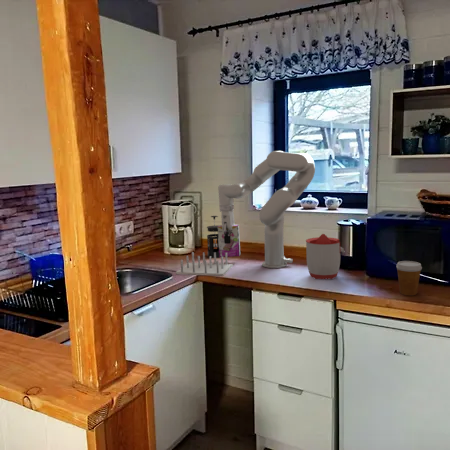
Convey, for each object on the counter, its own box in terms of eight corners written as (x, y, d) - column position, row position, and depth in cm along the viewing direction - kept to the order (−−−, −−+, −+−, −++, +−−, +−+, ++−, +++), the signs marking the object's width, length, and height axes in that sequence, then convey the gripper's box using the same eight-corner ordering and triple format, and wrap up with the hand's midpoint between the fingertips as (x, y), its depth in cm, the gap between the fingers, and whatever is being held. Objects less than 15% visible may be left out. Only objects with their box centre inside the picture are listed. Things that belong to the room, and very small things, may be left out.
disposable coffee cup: (394, 288, 188) (395, 260, 186) (419, 290, 185) (420, 261, 183) (396, 295, 179) (396, 266, 177) (422, 297, 176) (423, 267, 174)
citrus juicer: (346, 281, 200) (346, 236, 197) (306, 281, 203) (305, 237, 200) (343, 272, 216) (343, 230, 212) (305, 272, 218) (305, 230, 215)
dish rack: (232, 265, 235) (232, 252, 234) (223, 275, 217) (222, 261, 216) (188, 264, 241) (187, 251, 240) (175, 274, 223) (175, 260, 222)
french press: (211, 253, 265) (210, 214, 262) (227, 254, 262) (225, 214, 258) (203, 258, 255) (201, 217, 251) (219, 259, 251) (217, 217, 248)
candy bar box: (218, 257, 239) (216, 226, 237) (219, 255, 244) (217, 225, 242) (240, 256, 238) (238, 225, 236) (240, 254, 243) (238, 224, 241)
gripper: (229, 209, 228) (232, 245, 231) (237, 205, 245) (239, 239, 247) (215, 210, 230) (217, 245, 233) (223, 206, 247) (226, 239, 249)
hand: (229, 241), depth 240 cm, fingers closed on candy bar box, 5 cm apart
